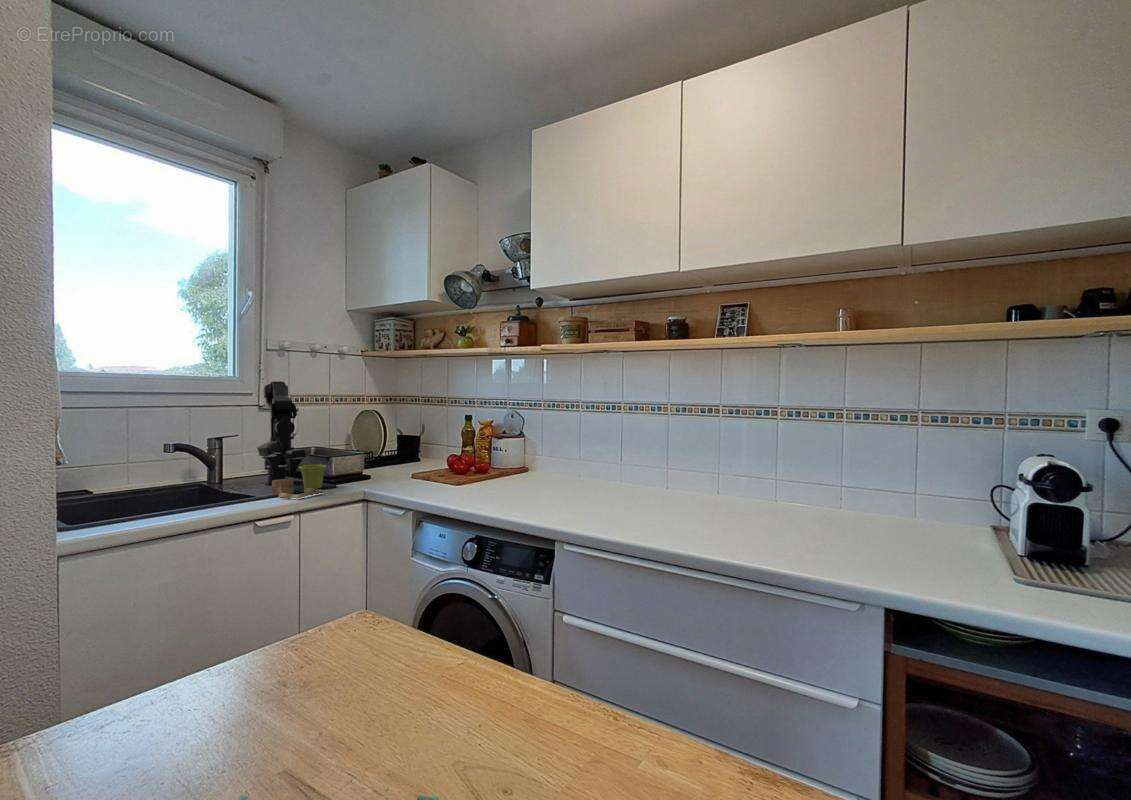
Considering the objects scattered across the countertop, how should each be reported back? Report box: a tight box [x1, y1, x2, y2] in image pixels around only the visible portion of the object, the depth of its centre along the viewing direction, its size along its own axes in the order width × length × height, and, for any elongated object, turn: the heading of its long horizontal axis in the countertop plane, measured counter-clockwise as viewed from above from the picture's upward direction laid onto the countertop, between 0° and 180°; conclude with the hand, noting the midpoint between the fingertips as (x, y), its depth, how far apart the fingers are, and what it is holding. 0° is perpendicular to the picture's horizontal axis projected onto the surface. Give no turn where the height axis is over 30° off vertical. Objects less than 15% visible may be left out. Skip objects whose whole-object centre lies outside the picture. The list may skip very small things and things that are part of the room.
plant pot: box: [298, 464, 327, 490], centre depth 198 cm, size 9×9×9 cm
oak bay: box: [278, 487, 326, 499], centre depth 184 cm, size 10×11×2 cm
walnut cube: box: [271, 478, 295, 495], centre depth 189 cm, size 5×5×5 cm
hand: (282, 476), depth 189 cm, fingers open, 9 cm apart
